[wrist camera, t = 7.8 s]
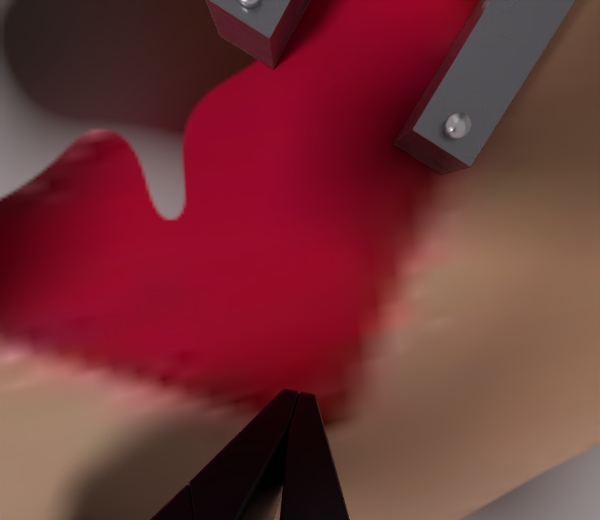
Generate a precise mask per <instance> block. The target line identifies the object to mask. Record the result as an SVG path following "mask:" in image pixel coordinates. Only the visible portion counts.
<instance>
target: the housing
mask: <svg viewBox="0 0 600 520" xmlns="http://www.w3.org/2000/svg"><path fill="white" fill-rule="evenodd" d="M206 2H207V4H208V7H209V9H210V12H211V14H212V17H213V19H214V21H215V24H216V27H217V29H218V31H219V34H220V36H222V37H223V38H225V39H226V40H228V41H229V42H231V43H232V44H234V45H236V46H237V47H239V48H241V49H242V50H244V51H245V52H247V53H248V54H250V55H252V56H253V57H255V58H256V59H258V60H259V61H261V62H263V63H264V64H266V65H267V66H269V67H271V68H272V69H274V68H275V66H276V64H277V62H278V60H279V59H280V57H281V55H282V53H283V51H284V49H285V48H286V46H287V44H288V42H289V40H290V39H291V37H292V35H293V33H294V31H295V29H296V28H297V26H298V24H299V22H300V20H301V19H302V17H303V15H304V13H305V11H306V10H307V8H308V6H309V4H310V2H311V0H206ZM574 2H575V0H479V1H478V3H477V4H476V6H475V8H474V9H473V11H472V13H471V14H470V16H469V18H468V19H467V21H466V23H465V24H464V26H463V28H462V29H461V31H460V33H459V34H458V36H457V38H456V39H455V41H454V43H453V44H452V46H451V48H450V49H449V51H448V53H447V54H446V56H445V58H444V59H443V61H442V63H441V64H440V66H439V68H438V69H437V71H436V73H435V74H434V76H433V78H432V79H431V81H430V83H429V84H428V86H427V88H426V89H425V91H424V93H423V94H422V96H421V98H420V99H419V101H418V103H417V104H416V106H415V108H414V109H413V111H412V112H411V114H410V116H409V117H408V119H407V121H406V122H405V124H404V126H403V127H402V129H401V131H400V132H399V134H398V136H397V137H396V139H395V141H394V142H393V145H394V146H396V147H398V148H399V149H401V150H402V151H404V152H405V153H407V154H409V155H410V156H412V157H413V158H415V159H417V160H418V161H420V162H421V163H423V164H424V165H426V166H428V167H429V168H431V169H432V170H434V171H436V172H437V173H439V174H440V175H443V174H446V173H450V172H453V171H457V170H461V169H464V168H468V167H471V165H472V163H473V162H474V160H475V159H476V157H477V156H478V154H479V152H480V151H481V149H482V148H483V146H484V144H485V143H486V141H487V140H488V138H489V136H490V135H491V133H492V132H493V130H494V129H495V127H496V125H497V124H498V122H499V121H500V119H501V117H502V116H503V114H504V113H505V111H506V110H507V108H508V106H509V105H510V103H511V102H512V100H513V98H514V97H515V95H516V94H517V92H518V90H519V89H520V87H521V86H522V84H523V83H524V81H525V79H526V78H527V76H528V75H529V73H530V71H531V70H532V68H533V67H534V65H535V63H536V62H537V60H538V59H539V57H540V56H541V54H542V52H543V51H544V49H545V48H546V46H547V44H548V43H549V41H550V40H551V38H552V37H553V35H554V33H555V32H556V30H557V29H558V27H559V25H560V24H561V22H562V21H563V19H564V17H565V16H566V14H567V13H568V11H569V10H570V8H571V6H572V5H573V3H574Z"/></svg>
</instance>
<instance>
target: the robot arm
mask: <svg viewBox="0 0 600 520" xmlns="http://www.w3.org/2000/svg"><path fill="white" fill-rule="evenodd" d="M281 494H282V501H281V512H280V520H350V519H349V515H348V511H347V508H346V504H345V501H344V497H343V493H342V490H341V486H340V482H339V479H338V475H337V471H336V468H335V464H334V460H333V457H332V453H331V449H330V446H329V442H328V438H327V435H326V431H325V427H324V424H323V420H322V417H321V413H320V409H319V406H318V402H317V398H316V396H315V395H314V394H310V393H304V392H301V393H300V394H299V393H298V391H294V390H288V389H284V390H282V391H281V392H280V393H279V394H278V395H277V396H276V397H275V398H274V399H273V400H272V401H271V402H270V403H269V404H268V405H267V406H266V407H265V408H264V409H263V410H262V411H261V412H260V413H259V414H258V415H257V416H256V417H255V418H254V419H253V420H252V421H251V422H250V423H249V424H248V425H247V426H246V427H245V428H244V429H243V430H242V431H241V432H240V433H239V434H238V435H236V436H235V437H234V438H233V439H232V440H231V441H230V442H229V443H228V444H227V445H226V446H225V447H224V448H223V449H222V450H221V451H220V452H219V453H218V454H217V455H216V456H215V457H214V458H213V459H212V460H211V461H210V462H209V463H208V464H207V465H206V466H205V467H204V468H203V469H202V470H201V471H200V472H199V473H198V474H197V475H196V476H195V477H194V478H193V479H192V480H191V481H190V482H189V486H188V485H186V486H185V487H184V488H183V489H182V490H181V491H180V492H179V493H178V494H177V495H176V496H175V497H174V498H173V499H172V500H171V501H170V502H168V503H167V504H166V505H165V506H164V507H163V508H162V509H161V510H160V511H159V512H158V513H157V514H156V515H155V516H154V517H152V518H151V519H150V520H273V519H274V516H275V513H276V510H277V507H278V504H279V501H280V497H281Z"/></svg>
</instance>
